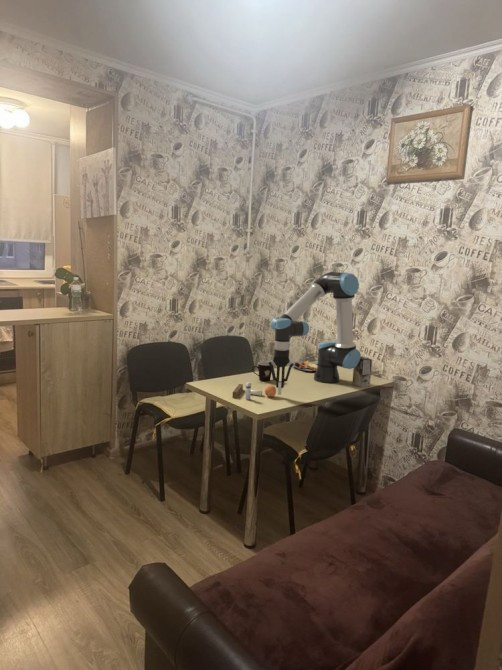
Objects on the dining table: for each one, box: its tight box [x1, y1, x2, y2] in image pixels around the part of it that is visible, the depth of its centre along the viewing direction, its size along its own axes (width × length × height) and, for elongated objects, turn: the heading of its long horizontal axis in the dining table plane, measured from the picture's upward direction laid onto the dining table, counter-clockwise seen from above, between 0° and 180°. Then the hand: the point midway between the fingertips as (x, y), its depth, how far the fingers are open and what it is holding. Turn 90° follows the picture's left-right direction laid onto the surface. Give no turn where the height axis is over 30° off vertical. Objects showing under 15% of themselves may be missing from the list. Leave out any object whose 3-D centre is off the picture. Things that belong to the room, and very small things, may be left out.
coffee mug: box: [251, 361, 272, 383], centre depth 271 cm, size 12×9×10 cm
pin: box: [245, 389, 263, 397], centre depth 242 cm, size 2×2×8 cm
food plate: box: [292, 359, 318, 372], centre depth 306 cm, size 25×23×4 cm
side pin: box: [245, 381, 252, 401], centre depth 233 cm, size 2×2×8 cm
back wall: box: [232, 383, 244, 399], centre depth 243 cm, size 2×16×3 cm, turn 170°
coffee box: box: [352, 355, 373, 388], centre depth 268 cm, size 9×6×16 cm
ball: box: [264, 384, 277, 398], centre depth 239 cm, size 6×6×6 cm
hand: (279, 393), depth 239 cm, fingers closed
